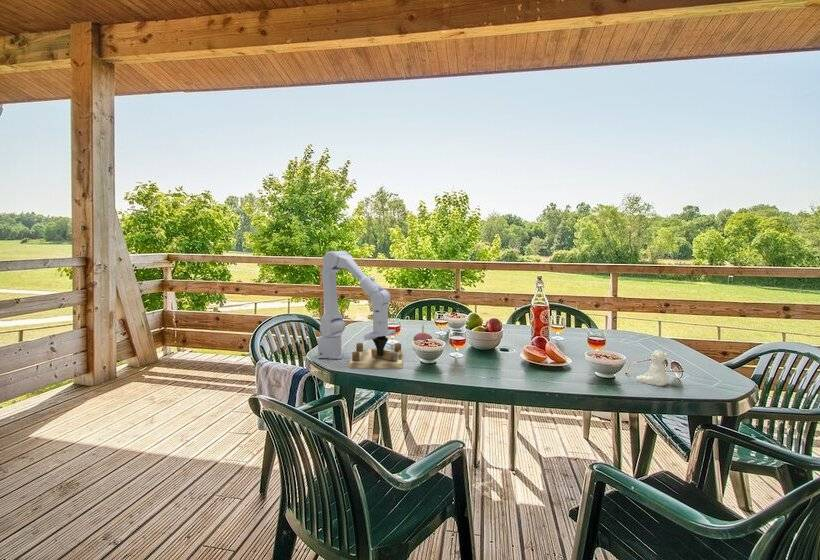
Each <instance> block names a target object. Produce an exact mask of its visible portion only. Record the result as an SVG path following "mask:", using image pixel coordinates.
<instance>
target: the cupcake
mask: <svg viewBox="0 0 820 560" xmlns="http://www.w3.org/2000/svg"><path fill="white" fill-rule="evenodd" d="M424 327H425V326H424V324H422V325H421V328H422V329H421V332H419V333H417V334H415V335H414V336H413V339H412V340H413V341H414V342H415V341H417V340H426V339H432V340H433V336H432V335H431V334H428V333H425V332H424V329H425V328H424Z"/></svg>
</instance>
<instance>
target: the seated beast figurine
mask: <svg viewBox="0 0 820 560" xmlns="http://www.w3.org/2000/svg"><path fill="white" fill-rule="evenodd" d="M653 351H654V352H653V353H652V354H651V356H650V358H649V359H650V360H651V364H650V365H649V370H648V373H647V374H644V375H643V374H640V375H637V376H636V378H635V379H636V382H637V383H641V384H647V385H651V386H656V387H664V386H666V385H668V383H669V376H668V373H667V371H666V366H665V364H664V362H665V360H666V358H667V357H668V356H669V352H664V351H662V350H661V349H655V350H653Z"/></svg>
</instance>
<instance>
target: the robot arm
mask: <svg viewBox="0 0 820 560" xmlns="http://www.w3.org/2000/svg"><path fill="white" fill-rule="evenodd" d="M322 260H323V262H322V263H323V264H322V267H321V275H322V277H321V278H322V279H321V280H322V291H323V302H324V314H322V317H320V324H319V332H320V333H321V335H319V336H318V339H317V359H319V358H329V359H328V360H336V359H337V360H340V359H342V357H343V356H344V352H342V335H343V331H345V329H346V323H345V321H344V319H343V315H342V314H341V313H340V311H339V301H338V298H339V297H338V289H337V288H338V287H337V276H336V275H337V273H338V272H339V271H340V270H341V269H344V270H345V269H346V270H347V271H348V272H349V273H350V274H351V275H352V276H354V278H355V279H357V280H358V282H359V287H360V288H361V289H362V291H364V293H366V295H367V296H368V297H369V300H370V303H371V304H372V309H373V310H372V313H373V314H372V316H373V317H372V331H371V332H369V333H365V334H364V335H363V337H364V338H363V340H364V341H370V340H372V341H373V343H374V345H375V348H376V349H377V355H378V356H383V350H385V347H386V344H387V343H388V341H389V337H390V336H396V331H397V330H396V329H389V326H388V325H389V303H390V302H391V300H392V295H391V293H390V291H389V290H388V289H386V288H385V289H384V288H383V287H382V285H380V284H379V283H377V281H375V277H374V276H371V275H368V276H367V275H366V273H365V272H364V271H363V270H362V268H360V267H359V265H358V264H357V262H355V260H354V258H353V255H351V254H350V253H349V252H348V251H347V250H338V251H337V250H335V251H334V250H329V251H327V252H326V253H325V254H324V255H323V257H322Z"/></svg>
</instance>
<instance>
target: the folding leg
mask: <svg viewBox="0 0 820 560" xmlns="http://www.w3.org/2000/svg"><path fill="white" fill-rule="evenodd" d="M370 350H371V356H372V357H377V358H381V359H386V360H391V361H397V360H398V353H397V352H392V351H387V350H388V349H384V350H383V356H378V355H377V348H376V347H375V348H371V349H370Z"/></svg>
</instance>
